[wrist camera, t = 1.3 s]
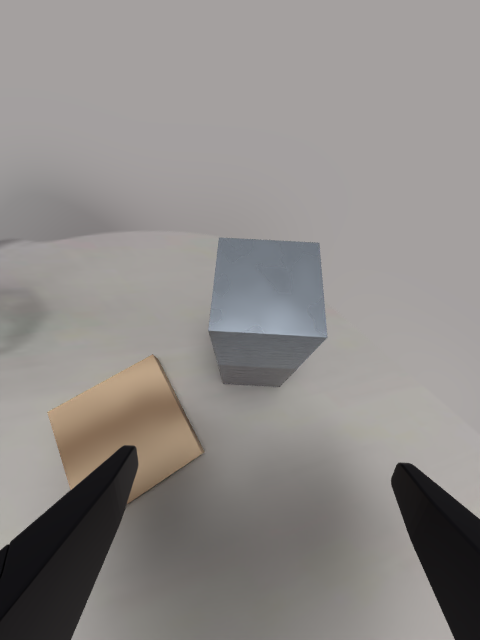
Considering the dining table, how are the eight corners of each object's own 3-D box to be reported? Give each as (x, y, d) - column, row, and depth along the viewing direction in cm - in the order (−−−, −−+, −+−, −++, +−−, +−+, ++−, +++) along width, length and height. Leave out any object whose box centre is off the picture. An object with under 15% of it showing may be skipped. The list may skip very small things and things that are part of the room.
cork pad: (204, 452, 20) (202, 453, 19) (95, 525, 18) (83, 533, 17) (157, 358, 23) (152, 354, 22) (59, 413, 21) (47, 412, 20)
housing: (279, 387, 23) (327, 337, 11) (223, 383, 23) (208, 330, 11) (279, 334, 25) (319, 242, 13) (227, 331, 25) (219, 237, 13)
